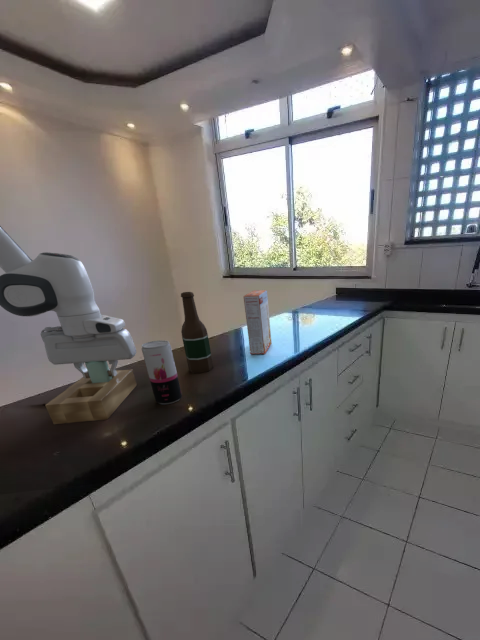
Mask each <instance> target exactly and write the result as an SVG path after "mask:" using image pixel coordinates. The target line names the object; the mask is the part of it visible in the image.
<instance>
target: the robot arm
mask: <svg viewBox="0 0 480 640" xmlns="http://www.w3.org/2000/svg"><path fill="white" fill-rule="evenodd" d="M0 269H1V270H3V272H4V273H2V274H1V275H0V307H1V308H2V309H4V310H5V311H6V312H8V313H10V314H13V315H15V316H18V317H36V316H40V315H42V314H45V313H47V312H55V314H56V316H57V318H58V322H59V324H60V325H58V326H45V327H44V329H42V330H41V331H40V337H41V339H42V342H43V343H44V350H45V353H46V356H47V359H48V361H49V362H50V363H51V364H52V365H55V366H57V365H69V364H73V366H74V368H75V369H76V370H77V371H78V372H80V373H81V375H82V377H84V379H87V378H90V376H89V373H88V370H87V368H86V366H84V365H85V362H91V361H94V362H98V361H107V363H108V365H110V368H109V370H108V371H107V372H108V375H109V377H112V376H116V375H117V372H116V371H117V369H116V368H117V366H118V363H119V361H125V360H131V359H133V358H134V357H135V356H136V354H137V348H136V345H135V342H134V339H133V337H132V335H131V333H130V331H129V330H128V329H126V328H125V327H126V323H125V320H124V319H122V318H119V317H114V316H110V315H106V314H102V313H101V310H100V307H99V306H98V304H97V303H96V300H95V290H94V287H93V285H92V281H91V278H90V276H89V274H88V272H87V269H86V267H85V265H84V264H83V262H82V261H81V260H80V259H79V258H77V256H76V257H75V256H73V255H71V254H65V253H59V252H47V251H46V252H45V251H44V252H40V253H39V254H38V255H37V256H36V257H35V258H34V259H32V258H31V257H30V256H29V255H28V254H27V253H26V252H25V251H24V250H23V249H22V248H21V246H20V245H19V244H18V243H17V242H16V241H15V240H14V238H12V236H11V235H9V233H8V232H7V231H6V230H5V229H4V228H3V227H2V226H1V225H0Z"/></svg>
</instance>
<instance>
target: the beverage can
mask: <svg viewBox="0 0 480 640" xmlns="http://www.w3.org/2000/svg"><path fill="white" fill-rule="evenodd" d="M141 353H142V356H143V360H144V364H145V368H146V370H147V375H148V379H149V382H150V385H151V390H152V393H153V397H154V400H155V403H157V404H159V405H170V404H174V403H177V402H179V401H180V400H181V399H182V398H183V393H182V389H181V384H180V380H179V376H178V372H177V367H176V363H175V358H174V354H173V349H172V345H171V343H170V341H169V340H163V339H161V340H152V341H148V342H145V343H142V344H141Z"/></svg>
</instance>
